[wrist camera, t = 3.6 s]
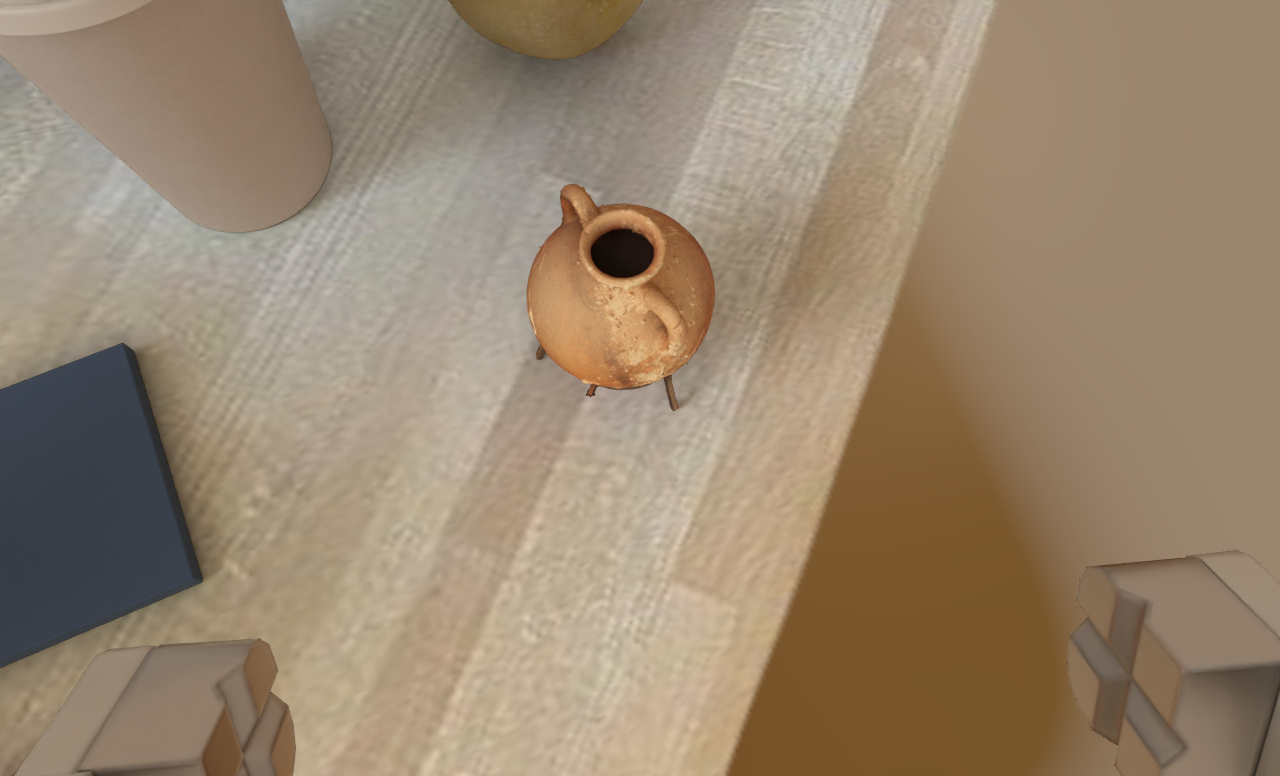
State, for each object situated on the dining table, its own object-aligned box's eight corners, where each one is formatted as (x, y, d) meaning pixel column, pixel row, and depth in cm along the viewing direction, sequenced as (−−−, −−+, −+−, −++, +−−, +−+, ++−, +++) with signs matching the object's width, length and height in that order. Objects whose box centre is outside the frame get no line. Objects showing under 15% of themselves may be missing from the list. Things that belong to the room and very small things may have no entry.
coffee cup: (294, 15, 39) (104, -382, 25) (419, 182, 37) (286, -154, 23) (78, 134, 37) (-260, -224, 23) (194, 317, 35) (-105, 43, 21)
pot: (567, 261, 36) (512, 411, 34) (561, 119, 29) (491, 295, 26) (718, 301, 36) (675, 456, 33) (751, 167, 29) (699, 350, 26)
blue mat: (-154, 460, 33) (-172, 454, 32) (134, 350, 35) (122, 342, 34) (-105, 712, 30) (-124, 712, 30) (204, 582, 32) (194, 578, 31)
